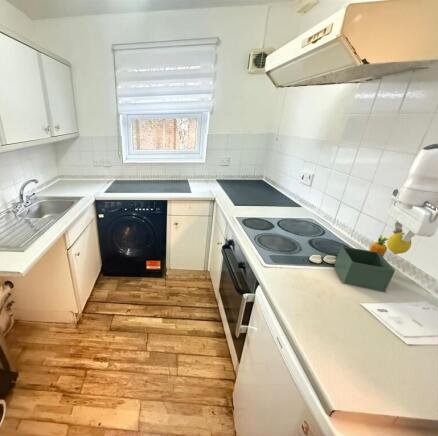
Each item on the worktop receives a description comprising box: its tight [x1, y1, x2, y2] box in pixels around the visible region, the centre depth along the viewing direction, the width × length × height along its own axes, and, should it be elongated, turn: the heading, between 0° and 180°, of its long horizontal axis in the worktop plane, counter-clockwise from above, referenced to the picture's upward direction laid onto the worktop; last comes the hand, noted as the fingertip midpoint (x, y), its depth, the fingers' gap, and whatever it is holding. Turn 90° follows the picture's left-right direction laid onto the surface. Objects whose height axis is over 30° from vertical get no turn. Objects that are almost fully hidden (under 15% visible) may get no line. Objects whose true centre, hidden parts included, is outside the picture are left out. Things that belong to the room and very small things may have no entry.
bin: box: [333, 246, 396, 293], centre depth 94 cm, size 13×14×10 cm
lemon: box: [386, 232, 412, 255], centre depth 80 cm, size 6×6×8 cm
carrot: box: [368, 234, 389, 257], centre depth 100 cm, size 5×5×15 cm
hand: (400, 236), depth 79 cm, fingers closed on lemon, 4 cm apart
